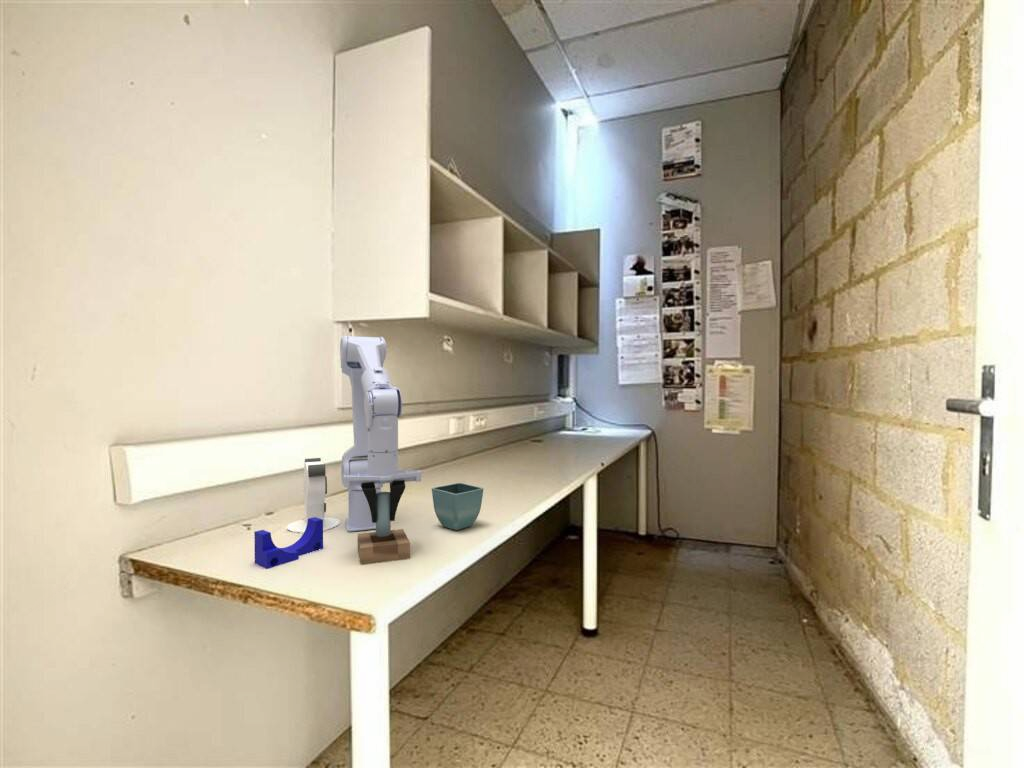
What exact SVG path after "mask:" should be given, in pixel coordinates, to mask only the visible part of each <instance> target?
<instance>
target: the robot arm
mask: <svg viewBox="0 0 1024 768" xmlns="http://www.w3.org/2000/svg"><path fill="white" fill-rule="evenodd" d="M339 343H340V344H339V353H340V354H339V355H340V358H339V359H340V369H341V373H343V374H344V375H346V376H348V377H349V381H350V386H351V398H352V399H351V404H352V425H353V426H352V429H353V431H352V432H353V445H352V446H351V447H350V448H348V449H347V450H345V452H344V453H343V455H342V456H341V471H340V472H341V473H340V474H341V483H342V486H343V487H344V488H347V489H348V492H347V493H348V496H347V497H348V498H347V499H348V502H347V503H348V517H347V518H346V519H345V524H346V531H347V532H356V531H368V530H376V493H378V492H382V488H383V486H384V485H385V484H389V492H390V493H391V522H395V521H396V513H397V510H398V506H399V503H400V501H401V498H402V496H403V494H404V492H405V489H406V483H407V482H417V483H418V482H422V471H421V470H420V469H418V470H417V469H416V470H399V419H400V417H401V415H402V411H403V398H402V393H401V390H400V388H398V387H396V386H393V384H392V380H391V376H390V374H389V372H388V370H386V368H385V367H384V364H385V361H386V357H387V342H386V340H385V338H384V336H379V337H378V336H377V337H376V336H355V335H354V336H353V335H349V336H348V335H343V336H342V337H340V342H339Z"/></svg>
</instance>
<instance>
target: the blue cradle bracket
mask: <svg viewBox="0 0 1024 768" xmlns="http://www.w3.org/2000/svg"><path fill="white" fill-rule="evenodd" d="M319 549H321V550H323V549H324V531H323V519H319V518H316V517H313V518H309V519H308V523H307V527H306V530H305V532H304V533H302V535H301V536H300V537H299V538H298V539H297V541H295V542H294V543H292V544H291V545H288V546H286V547H277V546H276V545H275V543H274V542H273V539H272V533H271V532H270V531H268V530H265V529H260V530H256V531H254V564H255V565H258V566H260V567H261V568H263V569H264V568H265V569H266V570H268V569H271V568H275V567H277V566H281V565H284V564H285V565H286V564H287V563H291V562H294V561H297V560H299V558H300V556H303V555H306V554H307V553H308V554H310V552H311V553H314V552H317V551H320V550H319ZM316 550H317V551H316ZM313 551H314V552H313Z"/></svg>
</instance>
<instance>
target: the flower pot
mask: <svg viewBox="0 0 1024 768" xmlns="http://www.w3.org/2000/svg"><path fill="white" fill-rule="evenodd" d="M484 488H485V487H480V486H476V485H473V484H468V483H464V482H463V483H462V482H455V483H451V484H446V485H442V486H436V487H432V488H431V493H432V504H433V509H434V513H435V515H436V518H437V520H438V522H439V524H440V525H441V527H445V528H448V529H450V530H454V531H459V530H462V529H466V528H470V527H472V526H473V525H474V523H475V522H476V520H477V519H478V518H479V517H478V516H479V514H480V512H481V509H482V504H483V503H482V502H483V496H484Z"/></svg>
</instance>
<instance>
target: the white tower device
mask: <svg viewBox="0 0 1024 768" xmlns="http://www.w3.org/2000/svg"><path fill="white" fill-rule="evenodd" d="M321 459H322V458H321V457H313V458H305V459H304V465H303V467H304V468H303V493H304V505H303V506H304V510H303V511H304V513H303V515H304V519H299V520H295V521H293V522H290V523H289V524H288V525H287V526H286V530H287V529H288V530H290V531H293V532H303V533H302V534H304V532H305V530H306V527H307V523H308V519H309V518H313V517H316V518H319V519H323V530H327V529H331V528H333V527H336V526H337V525H339V526H340V525H341V524H340V523H341V521H340V519H337V518H334V517H326V516H325V513H326V512H327V502H325V501H326V495H327V494H328V480H327V479H328V478H327V477H328V476H327V475H326V464H325V463H324V462H323V461H322V460H321ZM337 527H338V526H337ZM337 527H336V528H337ZM333 529H334V528H333ZM288 530H287V531H288ZM331 530H332V529H331ZM290 531H289V532H290ZM327 531H328V530H327ZM293 532H292V533H293Z"/></svg>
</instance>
